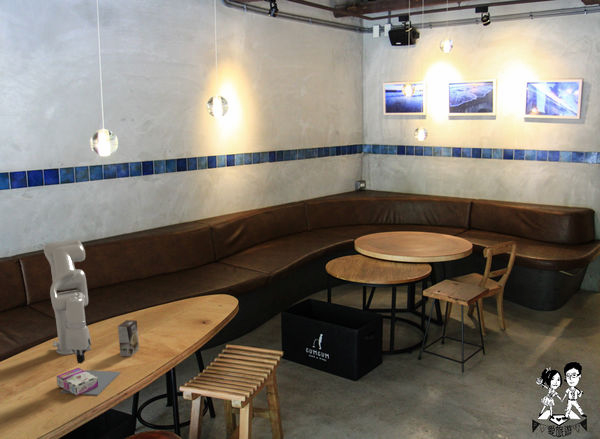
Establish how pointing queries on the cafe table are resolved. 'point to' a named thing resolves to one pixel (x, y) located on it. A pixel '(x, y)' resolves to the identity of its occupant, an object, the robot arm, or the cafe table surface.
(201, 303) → the cafe table surface
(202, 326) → the cafe table surface
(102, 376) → the mat
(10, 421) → the cafe table surface
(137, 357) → the cafe table surface
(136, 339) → the coffee box
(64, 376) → the candy bar box
